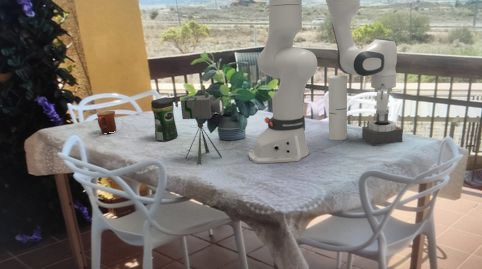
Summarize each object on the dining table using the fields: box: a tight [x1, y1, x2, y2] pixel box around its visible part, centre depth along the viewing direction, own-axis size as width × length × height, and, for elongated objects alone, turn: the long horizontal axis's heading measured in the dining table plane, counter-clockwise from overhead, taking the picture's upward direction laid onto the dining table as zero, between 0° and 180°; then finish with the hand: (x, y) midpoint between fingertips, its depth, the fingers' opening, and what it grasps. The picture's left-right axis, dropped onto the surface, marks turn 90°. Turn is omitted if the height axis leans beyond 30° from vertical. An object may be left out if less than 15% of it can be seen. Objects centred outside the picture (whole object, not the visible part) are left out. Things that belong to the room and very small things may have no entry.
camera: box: [180, 91, 225, 165], centre depth 149 cm, size 16×16×25 cm
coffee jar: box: [150, 97, 179, 142], centre depth 179 cm, size 10×8×19 cm
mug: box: [96, 110, 117, 134], centre depth 196 cm, size 12×9×10 cm
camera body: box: [361, 119, 404, 146], centre depth 157 cm, size 12×10×7 cm
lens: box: [375, 109, 390, 125], centre depth 156 cm, size 5×5×7 cm
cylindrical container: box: [327, 74, 348, 141], centre depth 162 cm, size 7×7×25 cm
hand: (382, 117), depth 156 cm, fingers open, 6 cm apart
